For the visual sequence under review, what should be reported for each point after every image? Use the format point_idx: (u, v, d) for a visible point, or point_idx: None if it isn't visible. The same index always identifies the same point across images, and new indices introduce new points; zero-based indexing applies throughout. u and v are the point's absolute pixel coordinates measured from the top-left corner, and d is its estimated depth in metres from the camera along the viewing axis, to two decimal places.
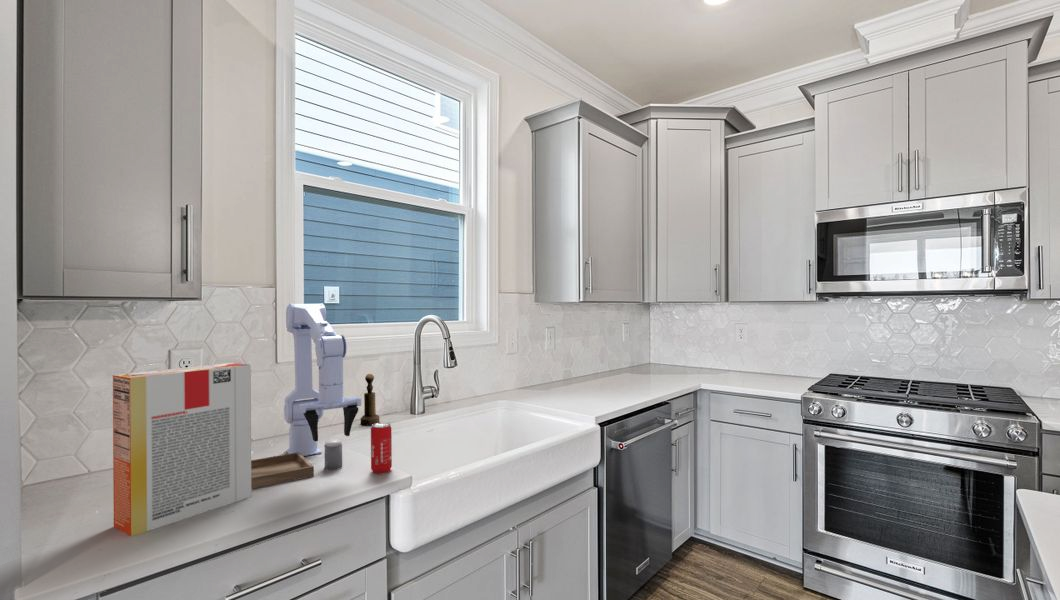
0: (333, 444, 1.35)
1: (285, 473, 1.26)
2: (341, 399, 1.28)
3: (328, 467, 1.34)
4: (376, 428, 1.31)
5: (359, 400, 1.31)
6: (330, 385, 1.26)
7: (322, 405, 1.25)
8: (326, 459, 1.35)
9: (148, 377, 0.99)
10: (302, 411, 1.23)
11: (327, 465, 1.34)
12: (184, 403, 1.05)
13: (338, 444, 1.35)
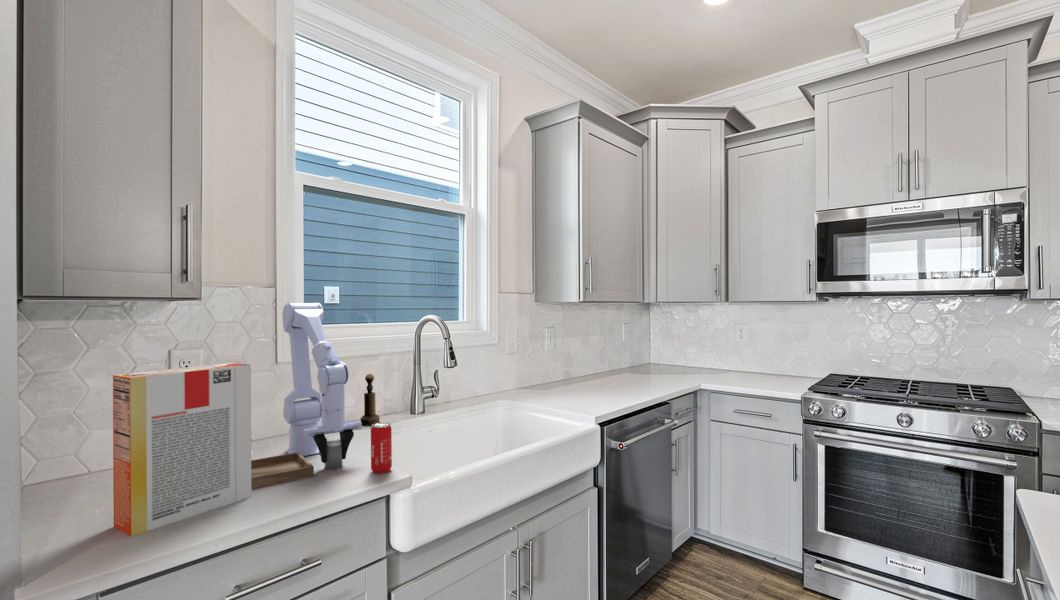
0: (333, 444, 1.35)
1: (285, 473, 1.26)
2: (343, 424, 1.36)
3: (328, 467, 1.34)
4: (376, 428, 1.31)
5: (359, 424, 1.40)
6: (332, 411, 1.34)
7: (325, 430, 1.33)
8: (326, 459, 1.35)
9: (148, 377, 0.99)
10: (306, 436, 1.31)
11: (327, 465, 1.34)
12: (184, 403, 1.05)
13: (338, 444, 1.35)
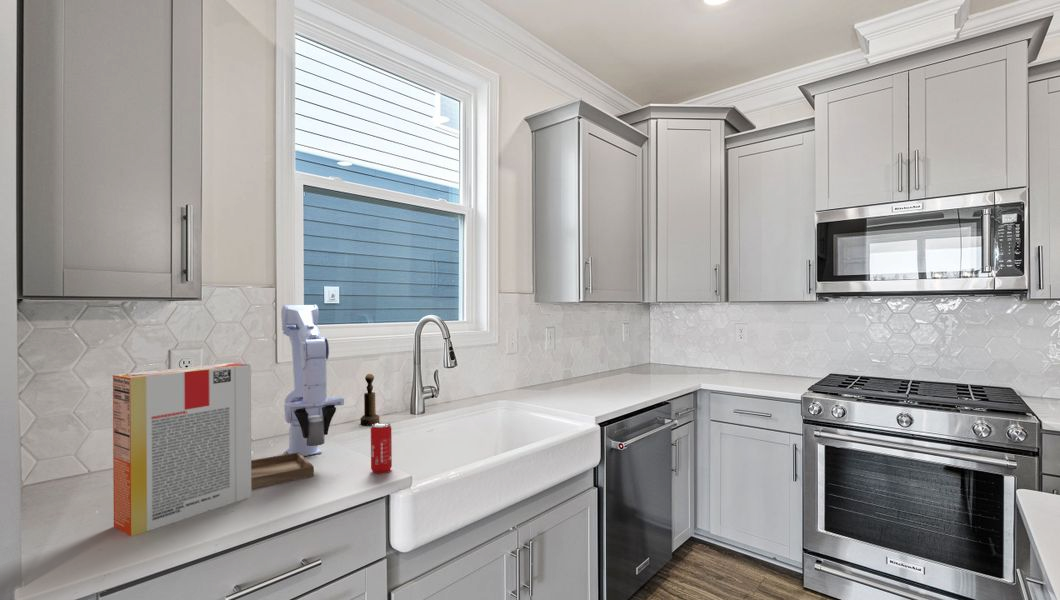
0: (315, 420, 1.33)
1: (285, 473, 1.26)
2: (324, 399, 1.35)
3: (310, 443, 1.33)
4: (376, 428, 1.31)
5: (342, 400, 1.38)
6: (314, 385, 1.32)
7: (306, 404, 1.32)
8: (308, 435, 1.33)
9: (148, 377, 0.99)
10: (287, 410, 1.30)
11: (309, 441, 1.33)
12: (184, 403, 1.05)
13: (320, 420, 1.34)
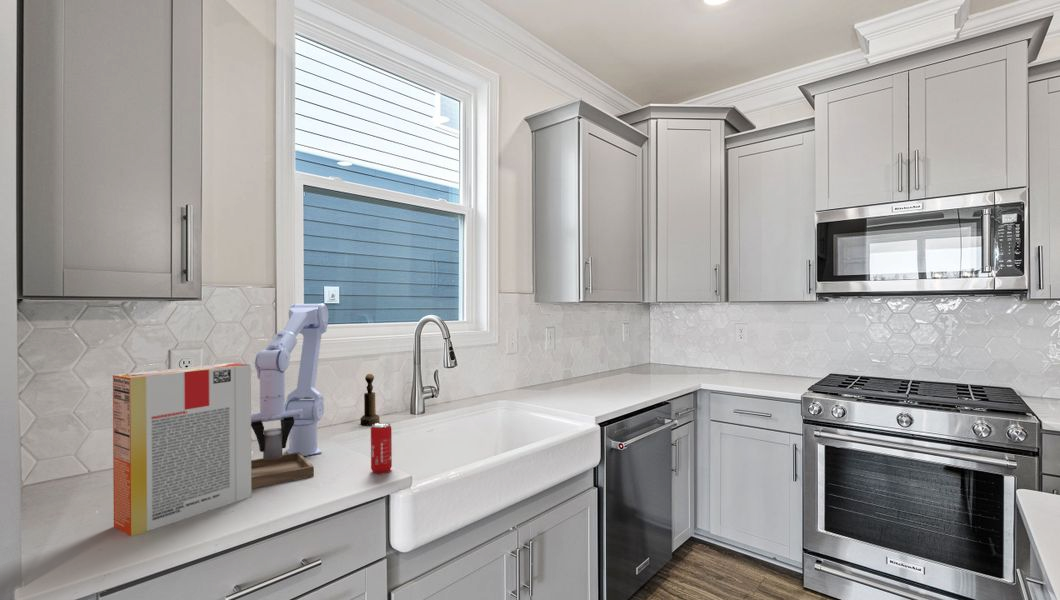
0: (272, 433, 1.29)
1: (285, 473, 1.26)
2: (282, 411, 1.31)
3: (266, 457, 1.29)
4: (376, 428, 1.31)
5: (301, 412, 1.35)
6: (270, 398, 1.29)
7: (262, 417, 1.28)
8: (265, 449, 1.29)
9: (148, 377, 0.99)
10: None
11: (266, 455, 1.29)
12: (184, 403, 1.05)
13: (278, 433, 1.30)
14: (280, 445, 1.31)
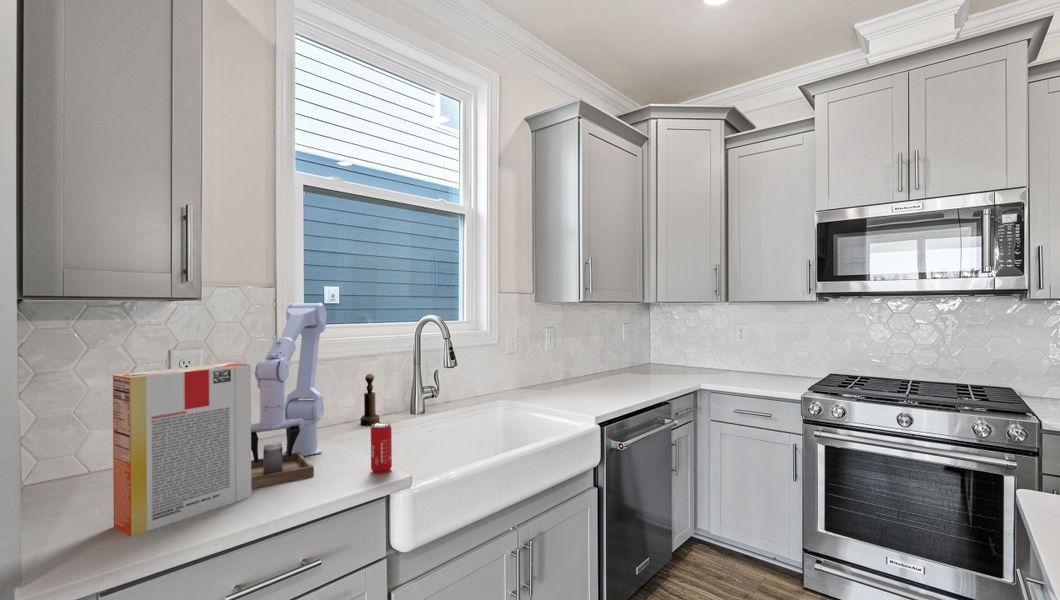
0: (272, 448, 1.29)
1: (285, 473, 1.26)
2: (282, 421, 1.31)
3: (266, 472, 1.29)
4: (376, 428, 1.31)
5: (301, 421, 1.35)
6: (270, 407, 1.29)
7: (262, 427, 1.28)
8: (265, 464, 1.29)
9: (148, 377, 0.99)
10: None
11: (266, 470, 1.29)
12: (184, 403, 1.05)
13: (278, 448, 1.30)
14: (280, 460, 1.31)
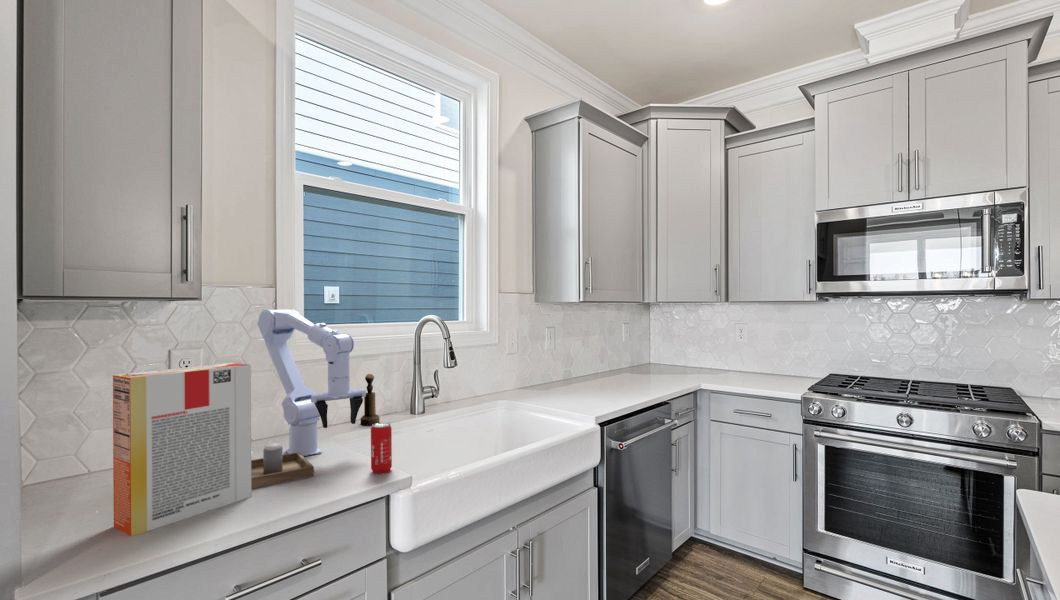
0: (273, 448, 1.29)
1: (285, 473, 1.26)
2: (348, 391, 1.44)
3: (267, 472, 1.29)
4: (376, 428, 1.31)
5: (364, 392, 1.47)
6: (338, 378, 1.41)
7: (331, 396, 1.41)
8: (265, 464, 1.29)
9: (148, 377, 0.99)
10: (313, 401, 1.39)
11: (266, 470, 1.29)
12: (184, 403, 1.05)
13: (278, 448, 1.30)
14: (280, 460, 1.31)
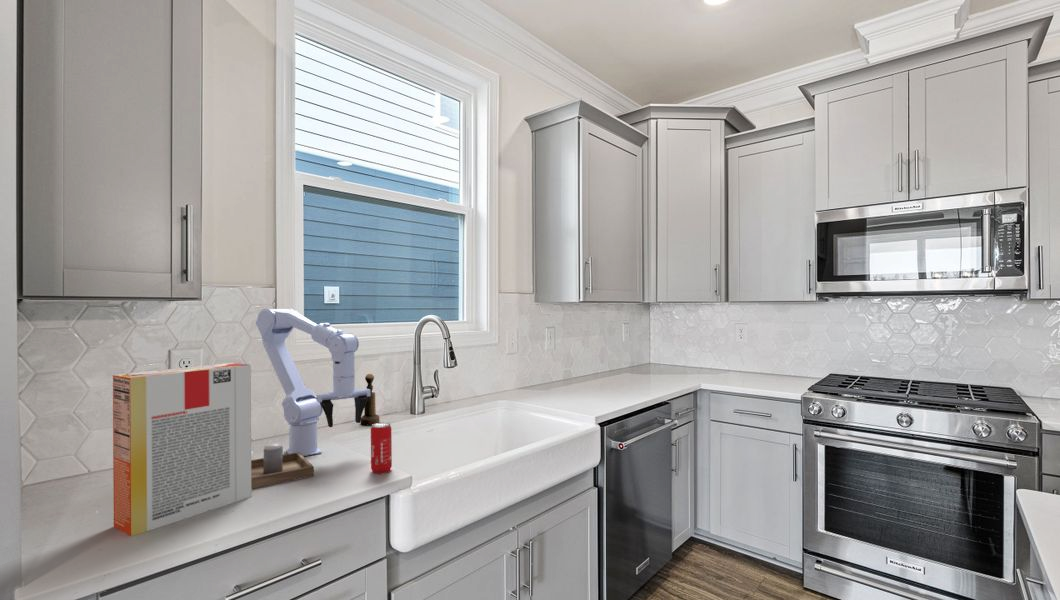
0: (273, 447, 1.29)
1: (285, 473, 1.26)
2: (353, 390, 1.45)
3: (267, 471, 1.29)
4: (376, 428, 1.31)
5: (368, 391, 1.48)
6: (343, 377, 1.42)
7: (336, 395, 1.42)
8: (265, 463, 1.29)
9: (148, 377, 0.99)
10: (319, 400, 1.40)
11: (266, 470, 1.29)
12: (184, 403, 1.05)
13: (278, 447, 1.30)
14: (280, 460, 1.31)
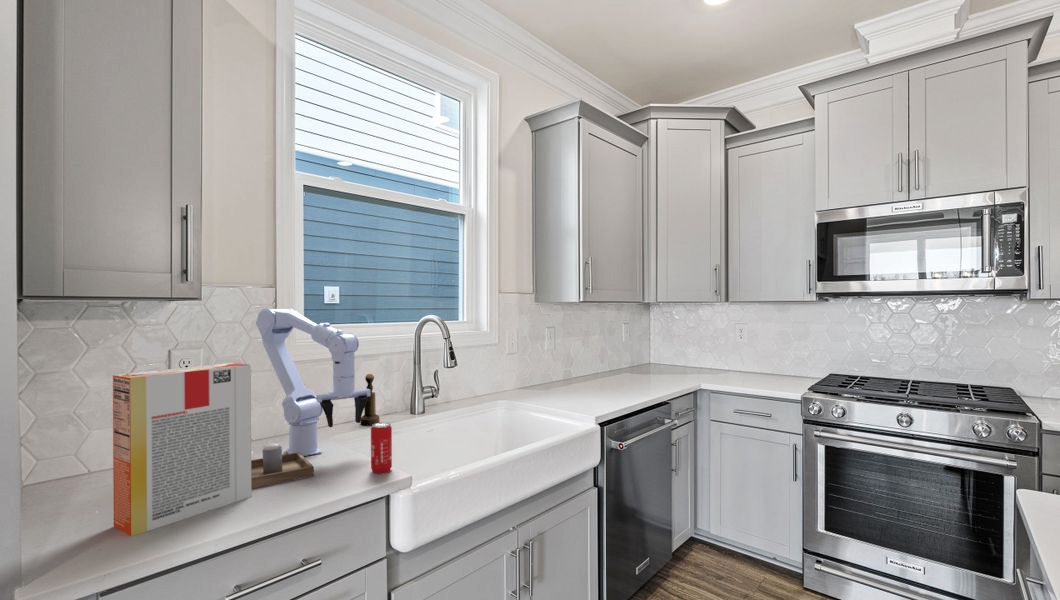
0: (272, 447, 1.29)
1: (285, 473, 1.26)
2: (353, 390, 1.45)
3: (267, 472, 1.29)
4: (376, 428, 1.31)
5: (368, 391, 1.48)
6: (343, 377, 1.42)
7: (336, 395, 1.42)
8: (265, 464, 1.29)
9: (148, 377, 0.99)
10: (319, 400, 1.40)
11: (266, 470, 1.29)
12: (184, 403, 1.05)
13: (277, 447, 1.30)
14: (280, 459, 1.31)
